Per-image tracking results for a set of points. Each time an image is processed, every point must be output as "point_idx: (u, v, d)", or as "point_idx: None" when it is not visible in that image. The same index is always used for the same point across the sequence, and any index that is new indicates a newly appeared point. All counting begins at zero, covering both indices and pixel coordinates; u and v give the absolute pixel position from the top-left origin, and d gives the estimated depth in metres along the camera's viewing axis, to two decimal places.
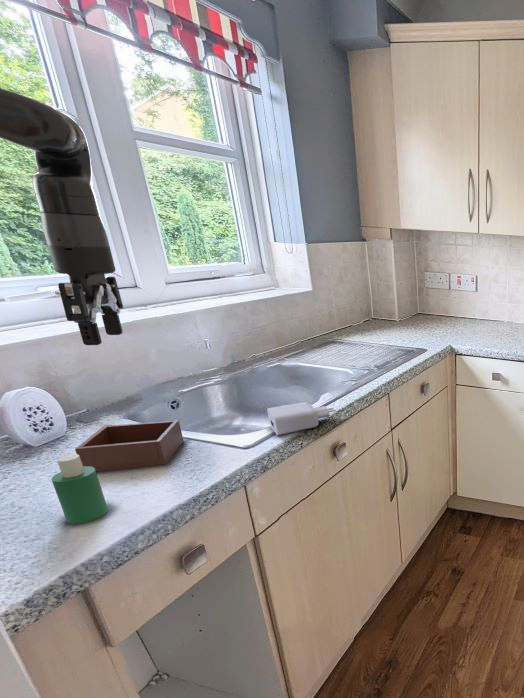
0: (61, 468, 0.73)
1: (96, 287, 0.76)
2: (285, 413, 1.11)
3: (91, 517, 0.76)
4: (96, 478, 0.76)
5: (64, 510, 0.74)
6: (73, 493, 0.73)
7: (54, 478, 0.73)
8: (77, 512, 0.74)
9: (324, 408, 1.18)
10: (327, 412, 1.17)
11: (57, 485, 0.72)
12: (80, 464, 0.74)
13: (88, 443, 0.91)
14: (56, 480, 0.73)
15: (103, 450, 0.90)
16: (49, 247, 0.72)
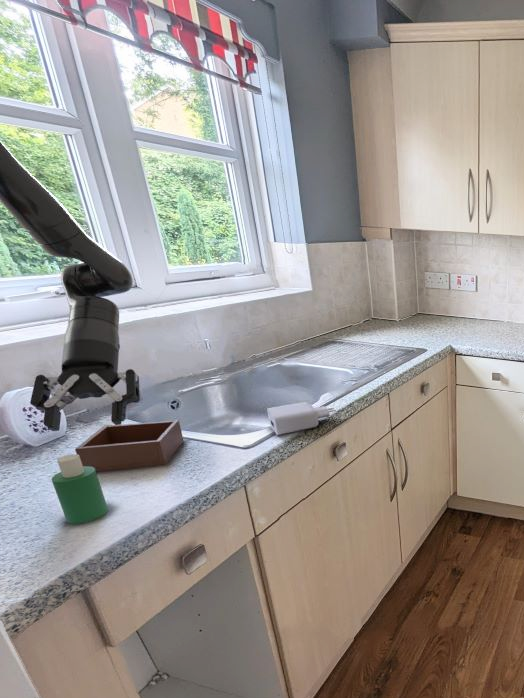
0: (61, 468, 0.73)
1: None
2: (285, 413, 1.11)
3: (91, 517, 0.76)
4: (96, 478, 0.76)
5: (64, 510, 0.74)
6: (73, 493, 0.73)
7: (54, 478, 0.73)
8: (77, 512, 0.74)
9: (324, 408, 1.18)
10: (327, 412, 1.17)
11: (57, 485, 0.72)
12: (80, 464, 0.74)
13: (88, 443, 0.91)
14: (56, 480, 0.73)
15: (103, 450, 0.90)
16: (101, 342, 0.84)
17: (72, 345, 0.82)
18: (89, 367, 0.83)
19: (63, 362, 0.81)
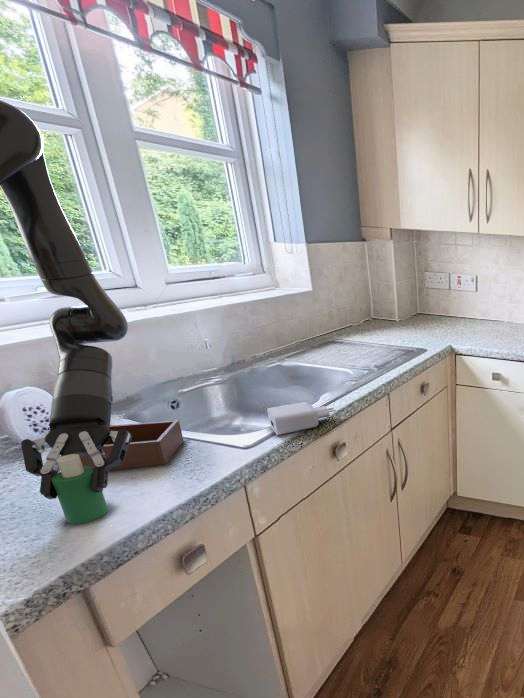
0: (61, 468, 0.73)
1: None
2: (285, 413, 1.11)
3: (91, 517, 0.76)
4: None
5: (64, 510, 0.74)
6: (73, 493, 0.73)
7: (54, 478, 0.73)
8: (77, 512, 0.74)
9: (324, 408, 1.18)
10: (327, 412, 1.17)
11: (57, 485, 0.72)
12: (80, 464, 0.74)
13: None
14: (56, 480, 0.73)
15: (103, 450, 0.90)
16: (92, 396, 0.78)
17: (61, 401, 0.76)
18: (79, 424, 0.77)
19: (51, 420, 0.75)
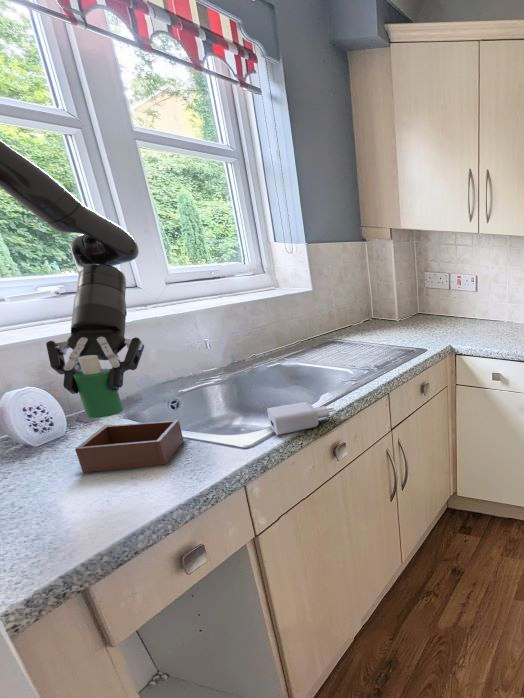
0: (82, 365, 0.81)
1: None
2: (285, 413, 1.11)
3: (108, 413, 0.84)
4: None
5: (84, 404, 0.83)
6: (93, 389, 0.82)
7: (75, 374, 0.82)
8: (96, 407, 0.83)
9: (324, 408, 1.18)
10: (327, 412, 1.17)
11: (78, 380, 0.81)
12: (98, 364, 0.83)
13: (88, 443, 0.91)
14: (77, 376, 0.81)
15: (103, 450, 0.90)
16: (108, 307, 0.87)
17: (81, 309, 0.85)
18: (97, 331, 0.86)
19: (72, 325, 0.84)
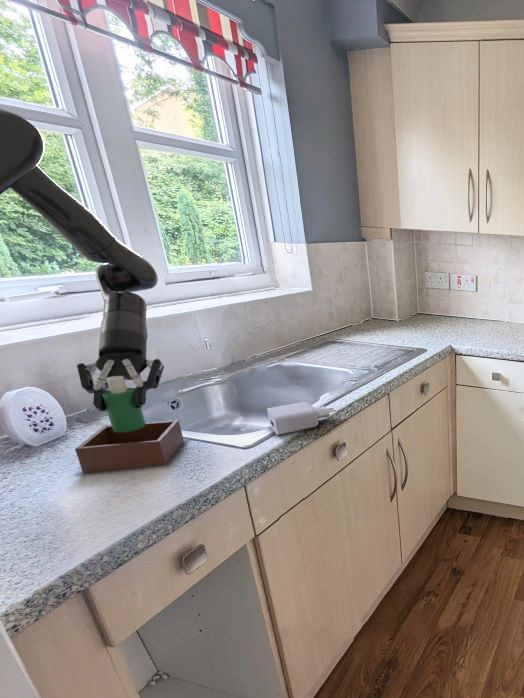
0: (110, 385, 0.90)
1: None
2: (285, 413, 1.11)
3: (133, 428, 0.93)
4: None
5: (112, 421, 0.92)
6: (119, 406, 0.91)
7: (104, 393, 0.91)
8: (122, 423, 0.92)
9: (324, 408, 1.18)
10: (327, 412, 1.17)
11: (107, 398, 0.90)
12: (124, 384, 0.92)
13: (88, 443, 0.91)
14: (106, 395, 0.90)
15: (103, 450, 0.90)
16: (132, 331, 0.96)
17: (108, 334, 0.94)
18: (122, 353, 0.95)
19: (100, 349, 0.93)
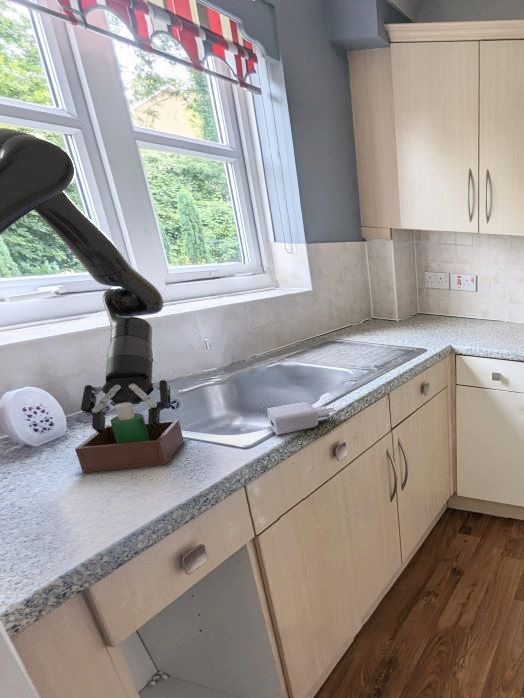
0: (118, 412, 0.93)
1: None
2: (285, 413, 1.11)
3: None
4: (144, 422, 0.96)
5: None
6: (127, 433, 0.93)
7: (112, 420, 0.93)
8: None
9: (324, 408, 1.18)
10: (327, 412, 1.17)
11: (115, 425, 0.92)
12: (132, 410, 0.94)
13: (88, 443, 0.91)
14: (114, 421, 0.92)
15: (103, 450, 0.90)
16: (138, 356, 0.98)
17: (115, 359, 0.95)
18: (128, 378, 0.97)
19: (107, 374, 0.95)
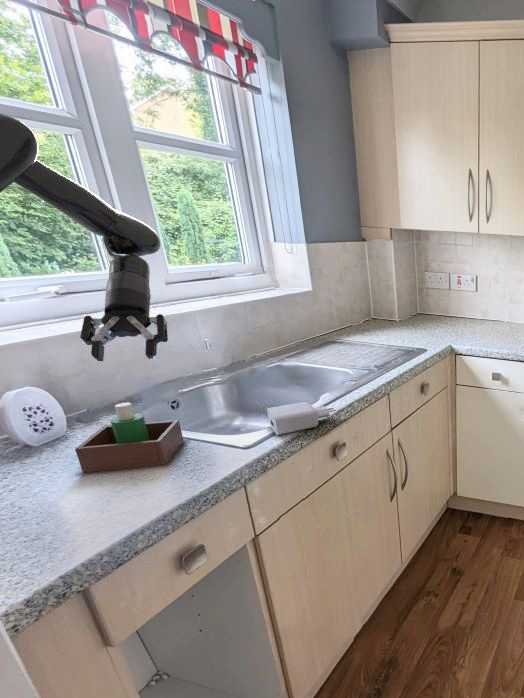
0: (118, 412, 0.93)
1: None
2: (285, 413, 1.11)
3: None
4: (144, 422, 0.96)
5: None
6: (127, 433, 0.93)
7: (112, 420, 0.93)
8: None
9: (324, 408, 1.18)
10: (327, 412, 1.17)
11: (115, 425, 0.92)
12: (132, 410, 0.94)
13: (88, 443, 0.91)
14: (114, 421, 0.92)
15: (103, 450, 0.90)
16: (136, 291, 1.01)
17: (113, 292, 0.99)
18: (126, 311, 1.00)
19: (106, 306, 0.98)
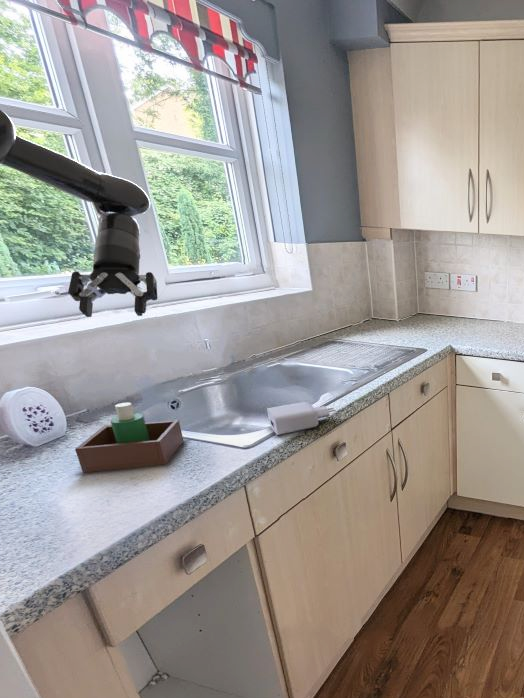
0: (118, 412, 0.93)
1: None
2: (285, 413, 1.11)
3: None
4: (144, 422, 0.96)
5: None
6: (127, 433, 0.93)
7: (112, 420, 0.93)
8: None
9: (324, 408, 1.18)
10: (327, 412, 1.17)
11: (115, 425, 0.92)
12: (132, 410, 0.94)
13: (88, 443, 0.91)
14: (114, 421, 0.92)
15: (103, 450, 0.90)
16: (125, 248, 1.00)
17: (102, 248, 0.98)
18: (115, 268, 0.99)
19: (94, 262, 0.97)
